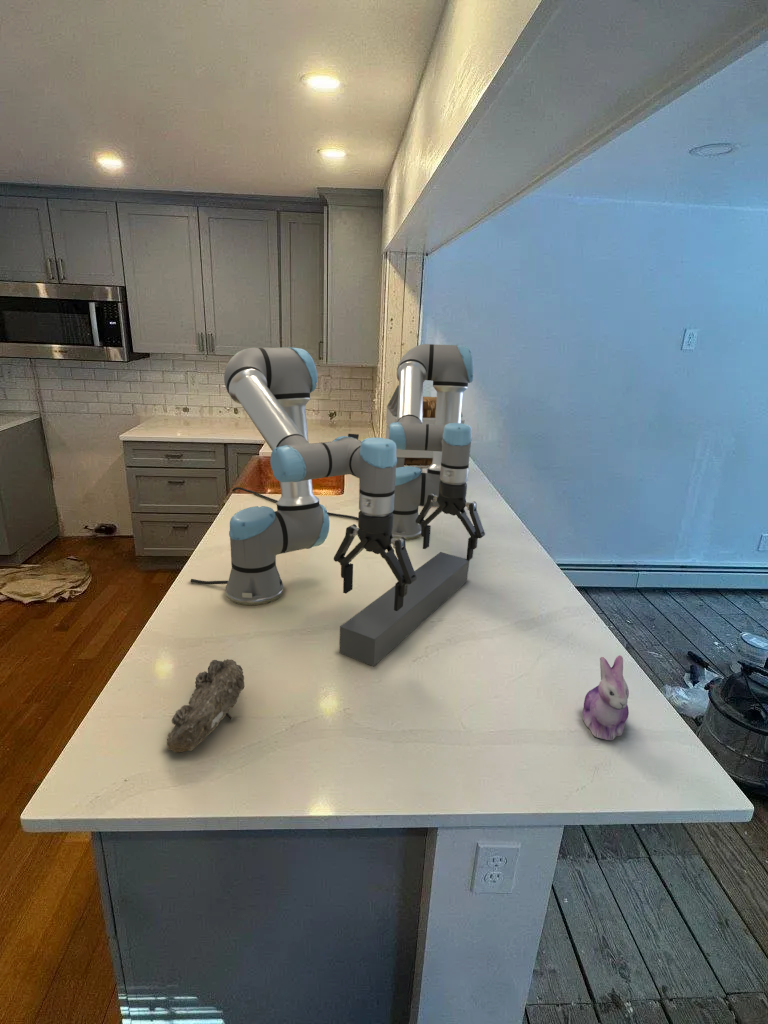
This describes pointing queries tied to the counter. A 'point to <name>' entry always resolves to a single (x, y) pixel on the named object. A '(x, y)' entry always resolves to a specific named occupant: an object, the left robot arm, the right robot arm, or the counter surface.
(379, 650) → the wide beam
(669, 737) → the counter surface
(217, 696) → the fossil
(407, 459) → the transformer
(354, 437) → the figurine character
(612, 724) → the figurine
